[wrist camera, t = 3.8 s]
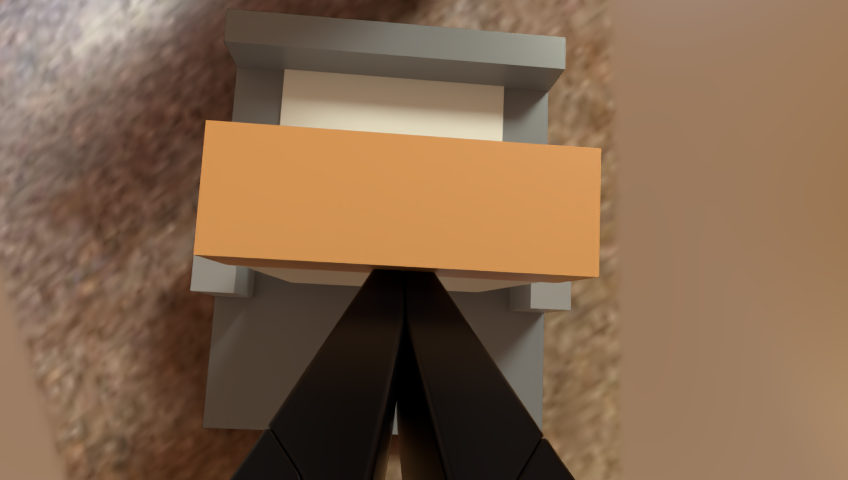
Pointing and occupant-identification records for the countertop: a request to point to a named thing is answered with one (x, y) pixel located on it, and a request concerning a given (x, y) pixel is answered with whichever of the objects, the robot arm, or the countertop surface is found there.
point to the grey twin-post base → (385, 113)
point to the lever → (397, 206)
